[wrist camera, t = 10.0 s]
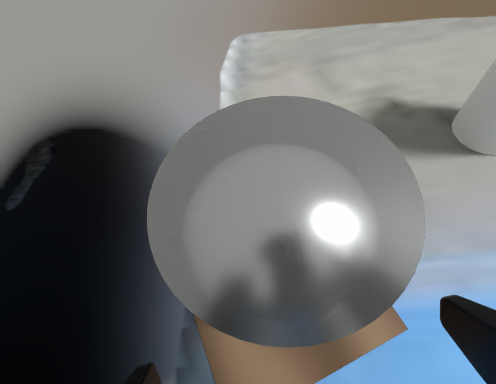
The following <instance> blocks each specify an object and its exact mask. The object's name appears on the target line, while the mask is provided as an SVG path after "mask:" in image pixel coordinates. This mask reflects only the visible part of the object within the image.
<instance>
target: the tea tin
mask: <svg viewBox="0 0 496 384" xmlns="http://www.w3.org/2000/svg"><path fill="white" fill-rule="evenodd" d="M147 230H148V237H149V243H150V247H151V250H152V254H153V257H154V260H155V263H156V265H157V267H158V269H159V271H160V273H161V275H162V277H163V279H164V280H165V282H166V284H167V285H168V286H169V288H170V290H171V291H172V292H173V294H174V295H175V296H176V297H177V298H178V299H179V300H180V301H181V303H182V304H183V305H184V306H185V307H186V308H187V309H188V310H190V311H191V312H192V313H193V314H194V315H196V316H197V317H198V318H199V319H201V320H202V321H203V322H205V323H207V324H208V325H210V326H212V327H213V328H215V329H217V330H219V331H220V332H222V333H225V334H227V335H230V336H232V337H235V338H237V339H240V340H242V341H246V342H250V343H255V344H259V345H263V346H272V347H284V348H292V347H307V346H314V345H319V344H323V343H327V342H332V341H335V340H338V339H340V338H343V337H345V336H348V335H350V334H353V333H355V332H357V331H358V330H360V329H362V328H363V327H365V326H367V325H368V324H370V323H372V322H373V321H375V320H376V319H377V318H378V317H380V316H381V315H382V314H383V313H384V312H385V311H387V310H388V309H389V308H390V307H391V306H392V305H393V304H394V302H395V301H396V300H397V299H398V298H399V296H400V295H401V294H402V293H403V292H404V290H405V289H406V287H407V285H408V283H409V282H410V280H411V278H412V277H413V275H414V273H415V270H416V268H417V265H418V262H419V260H420V257H421V254H422V248H423V243H424V238H425V213H424V205H423V199H422V196H421V192H420V189H419V185H418V183H417V180H416V178H415V176H414V174H413V171H412V169H411V168H410V166H409V164H408V163H407V161H406V160H405V158H404V156H403V155H402V154H401V152H400V151H399V150H398V149H397V147H396V146H395V145H394V144H393V143H392V142H391V141H390V140H389V139H388V138H387V137H386V136H385V135H384V134H383V133H382V132H381V131H380V130H378V129H377V128H376V127H375V126H373V125H372V124H371V123H369V122H368V121H366V120H365V119H363V118H361V117H360V116H358V115H356V114H354V113H352V112H350V111H348V110H346V109H344V108H342V107H339V106H336V105H333V104H331V103H328V102H324V101H320V100H316V99H310V98H304V97H294V96H271V97H263V98H256V99H251V100H247V101H243V102H240V103H237V104H233V105H231V106H228V107H226V108H223V109H221V110H219V111H217V112H215V113H213V114H211V115H210V116H208V117H206V118H205V119H203V120H202V121H200V122H199V123H197V124H196V125H195V126H193V127H192V128H191V129H190V130H189V131H188V132H187V133H185V134H184V135H183V136H182V137H181V138H180V139H179V140H178V141H177V143H176V144H175V145H174V146H173V147H172V149H171V150H170V151H169V153H168V154H167V156H166V157H165V159H164V160H163V162H162V164H161V166H160V167H159V170H158V172H157V174H156V177H155V179H154V181H153V185H152V188H151V192H150V196H149V202H148V210H147Z"/></svg>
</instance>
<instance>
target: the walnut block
mask: <svg viewBox="0 0 496 384" xmlns="http://www.w3.org/2000/svg"><path fill="white" fill-rule="evenodd" d="M193 315H194V314H193ZM194 318H195V321H196V324H197V327H198V330H199V333H200V336H201V340H202V343H203V346H204V349H205V352H206V355H207V358H208V362H209V365H210V368H211V371H212V374H213V377H214V380H215V384H315V383H316V382H318V381H320V380H321V379H323V378H325V377H327V376H328V375H330V374H332V373H333V372H335V371H337V370H339V369H340V368H342V367H344V366H345V365H347V364H349V363H351V362H352V361H354V360H356V359H357V358H359V357H361V356H363V355H364V354H366V353H368V352H369V351H371V350H373V349H375V348H376V347H378V346H380V345H381V344H383V343H385V342H387V341H388V340H390V339H392V338H394V337H395V336H397V335H399V334H400V333H402V332H404V331H406V330H407V329H408V328H407V327H406V325H405V324H404V323H403V321H402V320H401V318H400V317H399V315H398V314H397V312H396V311H395V310H394V308H393V307H392V306H391V307H390V308H389V309H388V310H387V311H385V312H384V313H383V314H382V315H381V316H380V317H378V318H377V319H376V320H375V321H373V322H372V323H370V324H368V325H367V326H365V327H363V328H362V329H360V330H358V331H357V332H355V333H353V334H350V335H348V336H345V337H343V338H340V339H338V340H335V341H332V342H327V343H323V344H319V345H314V346H307V347H292V348H284V347H272V346H263V345H259V344H255V343H250V342H246V341H242V340H240V339H237V338H235V337H232V336H230V335H227V334H225V333H222V332H220V331H219V330H217V329H215V328H213V327H212V326H210V325H208V324H207V323H205V322H203V321H202V320H201V319H199V318H198V317H197V316H196V315H194Z"/></svg>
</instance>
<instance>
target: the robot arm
mask: <svg viewBox="0 0 496 384" xmlns="http://www.w3.org/2000/svg"><path fill="white" fill-rule="evenodd" d="M440 320H441V323H442V325H443V327H444V328H445V330H446V331H447V332H448V334H449V335H450V336H451V338H452V339H453V340H454V342H455V343H456V344H457V346H458V347H459V348H460V350H461V351H462V352H463V354H464V355H465V356H466V358H467V359H468V360H469V362H470V363H471V364H472V366H473V367H474V368H475V370H476V371H477V372H478V373H479V375H480V376H481V377H482V378H483V380H484V381H485V382H486V383H487V384H496V310H494V309H492V308H489V307H486V306H484V305H481V304H479V303H476V302H473V301H471V300H468V299H466V298H463V297H461V296H458V295H450V296H446V297H443V298H441V300H440ZM123 384H161V380H160V377H159V375H158V373H157V370H156V368H155V365H154V364H153V363H152V362H149V363H144V364H141V365H139V366H137V367H136V368H135V370H134V371H133V372H132V373H131V374H130V376H129V377H128V378H127V379H126V381H125V382H124V383H123Z"/></svg>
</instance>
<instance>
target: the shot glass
mask: <svg viewBox="0 0 496 384" xmlns="http://www.w3.org/2000/svg"><path fill="white" fill-rule="evenodd" d="M451 126H452V131H453V134H454V135H455V137H456V138H457V139H458V141H459V142H460V143H462V144H463V145H465V146H466V147H467V148H469V149H471V150H473V151H476V152H479V153H482V154H488V155H496V60H495V61H494V62H493V64H492V65H491V67H490V68H489V69H488V71H487V72H486V74H485V75H484V77H483V78H482V79H481V81H480V82H479V84H478V85H477V87H476V88H475V89H474V91H473V92H472V94H471V95H470V96H469V98H468V99H467V101H466V102H465V104H464V105H463V106H462V108H461V109H460V111H459V112H458V113H457V115H456V116H455V118H454V120H453V122H452V125H451Z"/></svg>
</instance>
